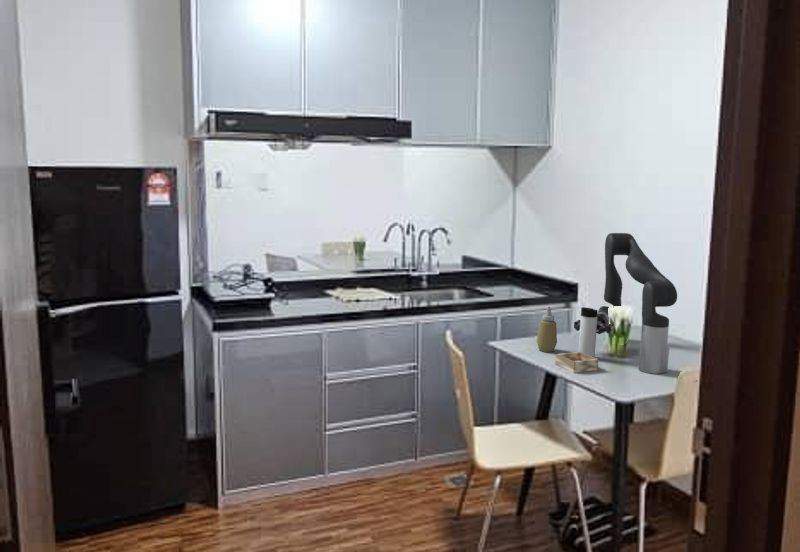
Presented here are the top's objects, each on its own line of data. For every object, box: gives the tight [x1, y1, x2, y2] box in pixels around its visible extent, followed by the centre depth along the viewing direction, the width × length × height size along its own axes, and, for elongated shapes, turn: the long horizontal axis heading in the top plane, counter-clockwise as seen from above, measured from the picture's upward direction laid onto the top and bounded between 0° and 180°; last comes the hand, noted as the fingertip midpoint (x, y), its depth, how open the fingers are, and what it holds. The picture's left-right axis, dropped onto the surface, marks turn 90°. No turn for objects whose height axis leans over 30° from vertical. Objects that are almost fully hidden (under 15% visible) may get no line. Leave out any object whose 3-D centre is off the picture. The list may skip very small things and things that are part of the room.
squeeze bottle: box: [536, 306, 558, 353], centre depth 278 cm, size 8×8×18 cm
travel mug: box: [577, 306, 599, 358], centre depth 268 cm, size 6×7×20 cm
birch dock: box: [554, 351, 599, 374], centre depth 256 cm, size 11×11×4 cm
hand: (587, 329), depth 268 cm, fingers open, 8 cm apart
